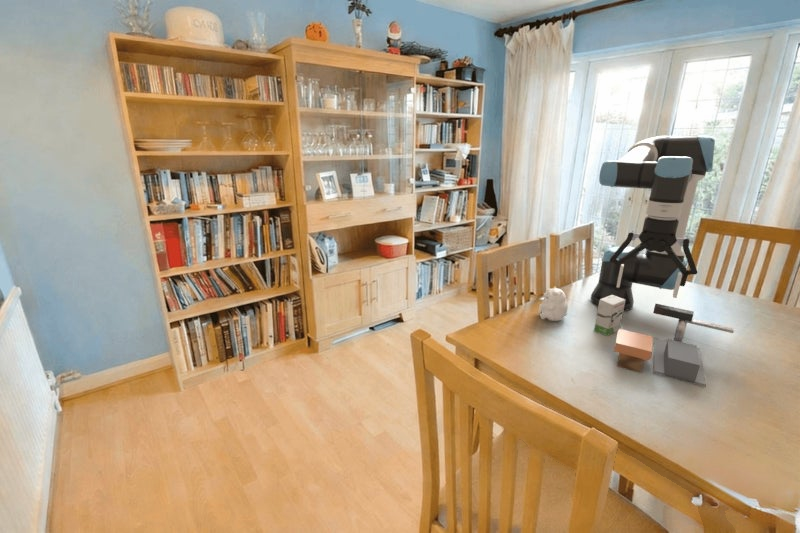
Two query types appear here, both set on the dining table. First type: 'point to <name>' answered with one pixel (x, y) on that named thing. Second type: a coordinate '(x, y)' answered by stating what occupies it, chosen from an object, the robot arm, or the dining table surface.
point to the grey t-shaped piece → (685, 320)
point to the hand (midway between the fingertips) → (645, 291)
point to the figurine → (553, 305)
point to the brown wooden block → (630, 362)
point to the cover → (634, 344)
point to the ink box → (609, 315)
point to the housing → (678, 361)
